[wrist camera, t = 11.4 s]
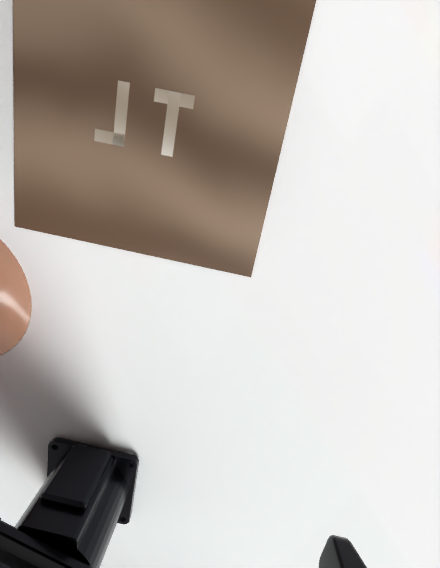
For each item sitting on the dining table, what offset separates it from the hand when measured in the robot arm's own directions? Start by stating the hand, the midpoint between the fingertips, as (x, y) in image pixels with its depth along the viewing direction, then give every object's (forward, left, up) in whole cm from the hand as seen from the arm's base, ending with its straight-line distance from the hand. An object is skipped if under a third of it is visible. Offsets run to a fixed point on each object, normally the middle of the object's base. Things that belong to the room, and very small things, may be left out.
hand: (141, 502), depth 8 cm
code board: (+9, +5, -13) cm, 17 cm away
